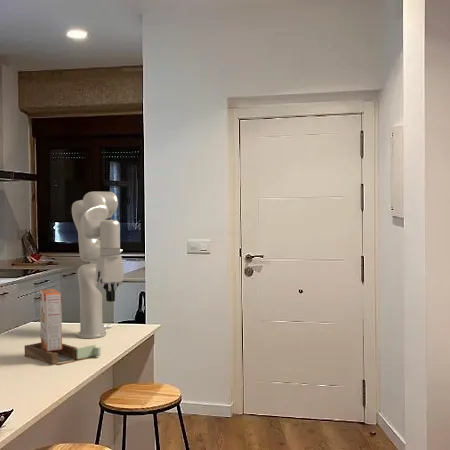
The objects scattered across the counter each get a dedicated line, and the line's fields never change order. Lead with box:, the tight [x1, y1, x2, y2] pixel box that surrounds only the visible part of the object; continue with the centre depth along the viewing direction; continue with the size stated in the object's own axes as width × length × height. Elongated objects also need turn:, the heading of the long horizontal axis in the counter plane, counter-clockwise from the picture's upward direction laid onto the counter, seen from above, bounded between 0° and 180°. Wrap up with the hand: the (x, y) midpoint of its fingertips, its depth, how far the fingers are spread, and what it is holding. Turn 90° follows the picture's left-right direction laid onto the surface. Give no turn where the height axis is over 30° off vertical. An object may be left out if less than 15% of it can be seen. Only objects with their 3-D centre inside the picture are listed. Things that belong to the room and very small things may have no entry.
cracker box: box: [39, 288, 63, 351], centre depth 213 cm, size 14×6×21 cm, turn 26°
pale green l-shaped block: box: [76, 344, 101, 359], centre depth 211 cm, size 8×4×4 cm, turn 138°
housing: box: [24, 342, 98, 366], centre depth 215 cm, size 18×21×4 cm
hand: (110, 301), depth 216 cm, fingers closed
